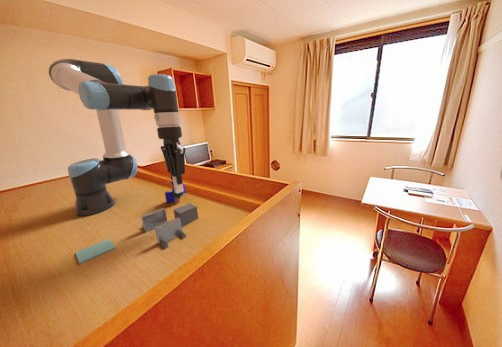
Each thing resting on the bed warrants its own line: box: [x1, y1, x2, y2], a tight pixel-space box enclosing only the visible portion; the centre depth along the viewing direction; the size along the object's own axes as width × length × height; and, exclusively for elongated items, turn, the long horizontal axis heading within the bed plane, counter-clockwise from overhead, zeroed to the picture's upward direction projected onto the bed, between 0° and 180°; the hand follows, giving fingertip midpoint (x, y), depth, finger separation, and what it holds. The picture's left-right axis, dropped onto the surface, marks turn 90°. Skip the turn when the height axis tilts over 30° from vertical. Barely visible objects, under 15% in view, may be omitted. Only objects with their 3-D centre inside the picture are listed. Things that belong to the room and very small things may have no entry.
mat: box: [75, 238, 116, 265], centre depth 62 cm, size 7×9×1 cm
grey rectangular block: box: [173, 202, 199, 228], centre depth 76 cm, size 5×7×6 cm
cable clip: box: [164, 184, 186, 204], centre depth 99 cm, size 12×4×6 cm, turn 167°
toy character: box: [166, 174, 183, 204], centre depth 92 cm, size 12×5×15 cm, turn 52°
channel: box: [140, 207, 188, 249], centre depth 70 cm, size 19×8×6 cm, turn 48°
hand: (179, 191), depth 72 cm, fingers closed
